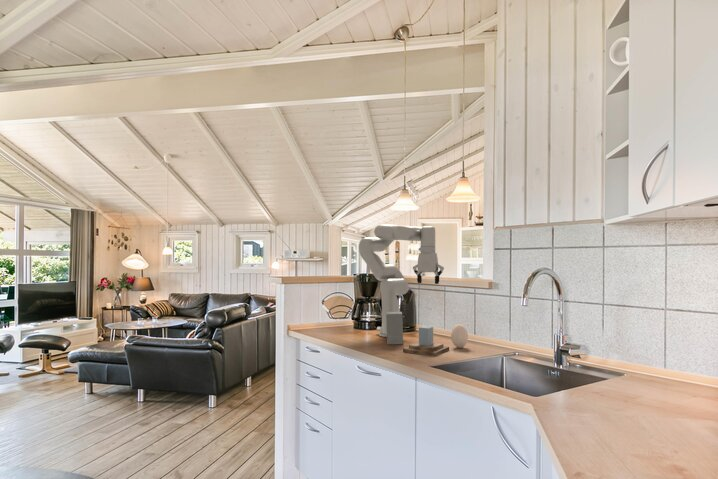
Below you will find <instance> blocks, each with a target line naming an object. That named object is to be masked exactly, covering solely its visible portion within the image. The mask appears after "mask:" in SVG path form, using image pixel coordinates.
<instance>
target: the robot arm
mask: <svg viewBox="0 0 718 479" xmlns="http://www.w3.org/2000/svg"><path fill="white" fill-rule="evenodd" d="M373 230H374V231H373V233H374V236H375V237H374V236H373V237H372V236H371V237H370V236H367V237H363V238H362V239H361V240H360V241H359V244H358V252H359V255H360V257H361V259H362V260H363V261H364V263H366V265H367V267H368V269H369V270H370V272H371V273H372V275H373V276H374V278H375V279H376V280H377V281H379V282H381V283H380V286H379V287H380V288H379V290H380V291H379V292H380V297H381V326H377V327H376V331H379V333H378V335H379V336H380V337H383V338H387V325H386V313H387V312H400V302H399V300H398V297H397V296H403V295H406V294H407V293H408V292H409V283H408V281H407V279H406V277H405V276H404V275H403V273H402V272H401V270H400V269H399V267H397V265H396V264H395V265H394V264H391V263H389V264H388V263H387V264H386V263H385V262H383V261H382V258H381V257H380V256H379V255H378V254H377V253H378V252H384V251H385V250H386V249H388V248H389V247H390V245H391V244H393V242H394V241H408V242H409V241H411V242H414V241H415V242H420V247H418V251H420V252H419V253H418V257H417V264H416V265H414V266H412V269H413V272H414V274H415V275H416V276H417V278H416V280H417V284H422V283H423V282H422V281H423V280H422V278H423V277H422V274H423V273H433V274H434V275H435V276H434V284H435V285H439V283H440V276H441V275H442V274H443V272H444V270H445V267H444V266H443V265H440V264H439V260H438V259H439V258H438V255H437V254H438V253H437V252H436V227H434V226H430V225H428V226H411V225H399V224H378V225H377V226H375V228H374V229H373ZM376 252H377V253H376Z"/></svg>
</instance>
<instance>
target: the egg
mask: <svg viewBox="0 0 718 479" xmlns="http://www.w3.org/2000/svg"><path fill="white" fill-rule="evenodd" d="M450 339H451V342H452V344H453V346H454V347H456V348H458V349H461V348H464V347H465V346H466V345H467V343H468V340H469V334H468V330H467V328H466V327H465V326H464V325H463V324H461V323H458V324H455V325H454V327H453V329H452V331H451V332H450Z"/></svg>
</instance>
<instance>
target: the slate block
mask: <svg viewBox="0 0 718 479" xmlns="http://www.w3.org/2000/svg"><path fill="white" fill-rule="evenodd" d="M418 342H419V345H425V346H430V345H433V343H434V327H433V326H426V325H422V326H419V327H418Z"/></svg>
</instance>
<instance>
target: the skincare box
mask: <svg viewBox="0 0 718 479" xmlns="http://www.w3.org/2000/svg"><path fill="white" fill-rule="evenodd" d="M403 322H404V320H403V312H402V311H399V312H387V313H386V325H387V337H386V345H403V344H404V330H403V329H404V328H403V326H404V325H403V324H404V323H403Z"/></svg>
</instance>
